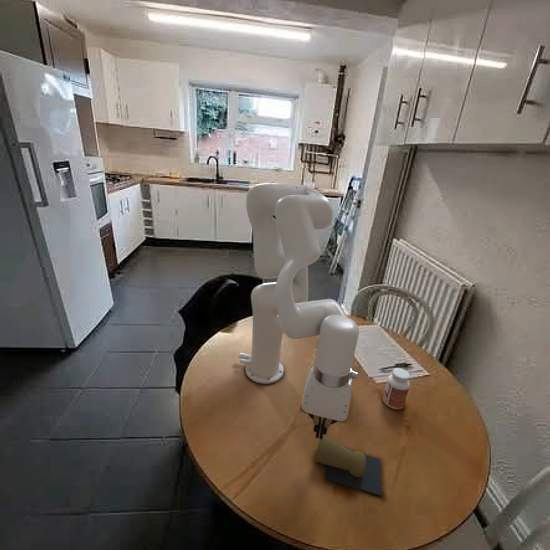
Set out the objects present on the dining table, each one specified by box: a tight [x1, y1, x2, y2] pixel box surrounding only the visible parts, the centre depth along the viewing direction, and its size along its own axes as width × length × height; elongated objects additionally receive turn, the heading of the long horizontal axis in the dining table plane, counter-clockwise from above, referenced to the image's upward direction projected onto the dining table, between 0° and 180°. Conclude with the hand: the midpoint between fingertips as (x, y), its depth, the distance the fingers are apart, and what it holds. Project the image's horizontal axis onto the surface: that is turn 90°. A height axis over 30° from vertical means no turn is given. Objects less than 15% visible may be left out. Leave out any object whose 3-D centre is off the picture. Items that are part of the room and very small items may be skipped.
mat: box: [326, 450, 382, 497], centre depth 73 cm, size 12×9×1 cm
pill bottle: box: [382, 367, 411, 410], centre depth 92 cm, size 6×6×11 cm
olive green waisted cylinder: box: [314, 435, 366, 477], centre depth 73 cm, size 6×6×11 cm
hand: (319, 433), depth 72 cm, fingers closed
